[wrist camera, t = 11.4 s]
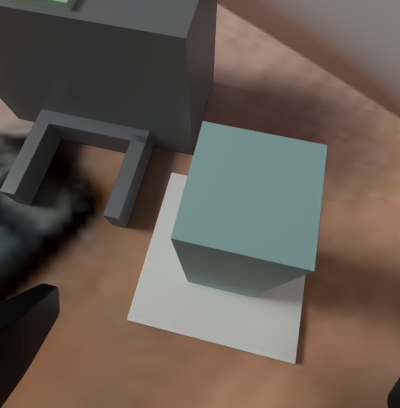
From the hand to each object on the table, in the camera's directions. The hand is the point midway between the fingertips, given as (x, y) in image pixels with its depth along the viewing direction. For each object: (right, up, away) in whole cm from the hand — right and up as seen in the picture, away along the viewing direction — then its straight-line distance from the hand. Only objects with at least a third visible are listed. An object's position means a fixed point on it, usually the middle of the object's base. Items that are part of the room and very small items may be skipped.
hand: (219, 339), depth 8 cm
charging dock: (-8, +9, +15) cm, 19 cm away
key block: (+1, 0, +11) cm, 12 cm away
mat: (+1, 0, +12) cm, 12 cm away
